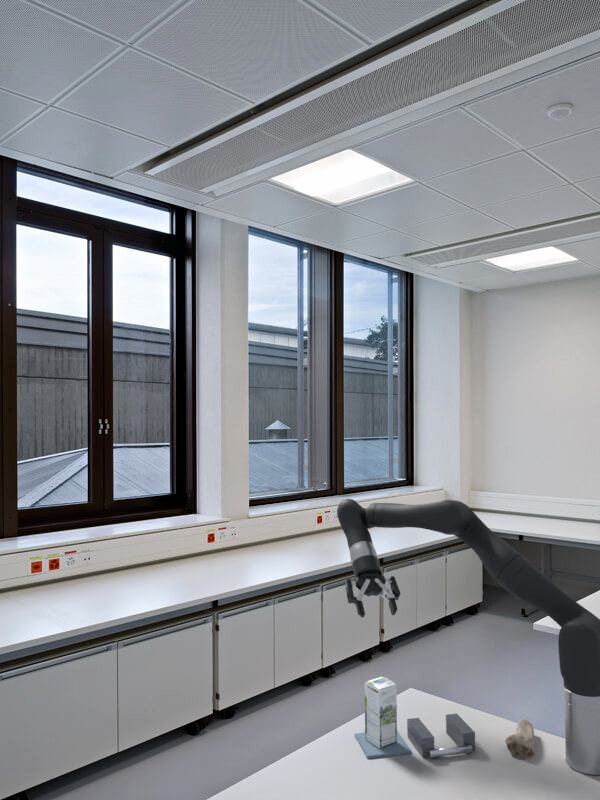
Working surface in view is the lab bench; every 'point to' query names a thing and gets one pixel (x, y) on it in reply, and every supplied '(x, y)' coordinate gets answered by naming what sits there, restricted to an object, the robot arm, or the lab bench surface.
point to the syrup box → (381, 712)
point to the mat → (389, 750)
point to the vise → (453, 728)
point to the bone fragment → (522, 740)
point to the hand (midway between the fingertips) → (378, 614)
